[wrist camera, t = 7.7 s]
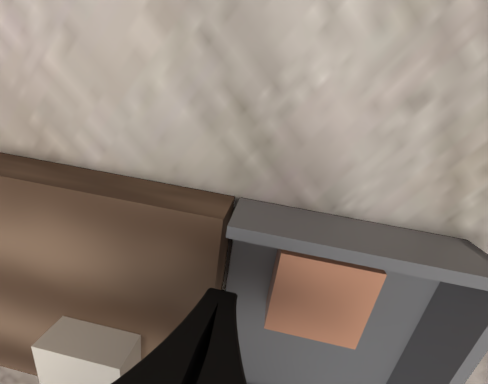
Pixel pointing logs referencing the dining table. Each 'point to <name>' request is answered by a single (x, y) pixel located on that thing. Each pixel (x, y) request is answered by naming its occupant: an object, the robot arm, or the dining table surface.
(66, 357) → the cream tile
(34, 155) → the dining table surface
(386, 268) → the box
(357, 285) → the terracotta tile
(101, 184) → the walnut platform
